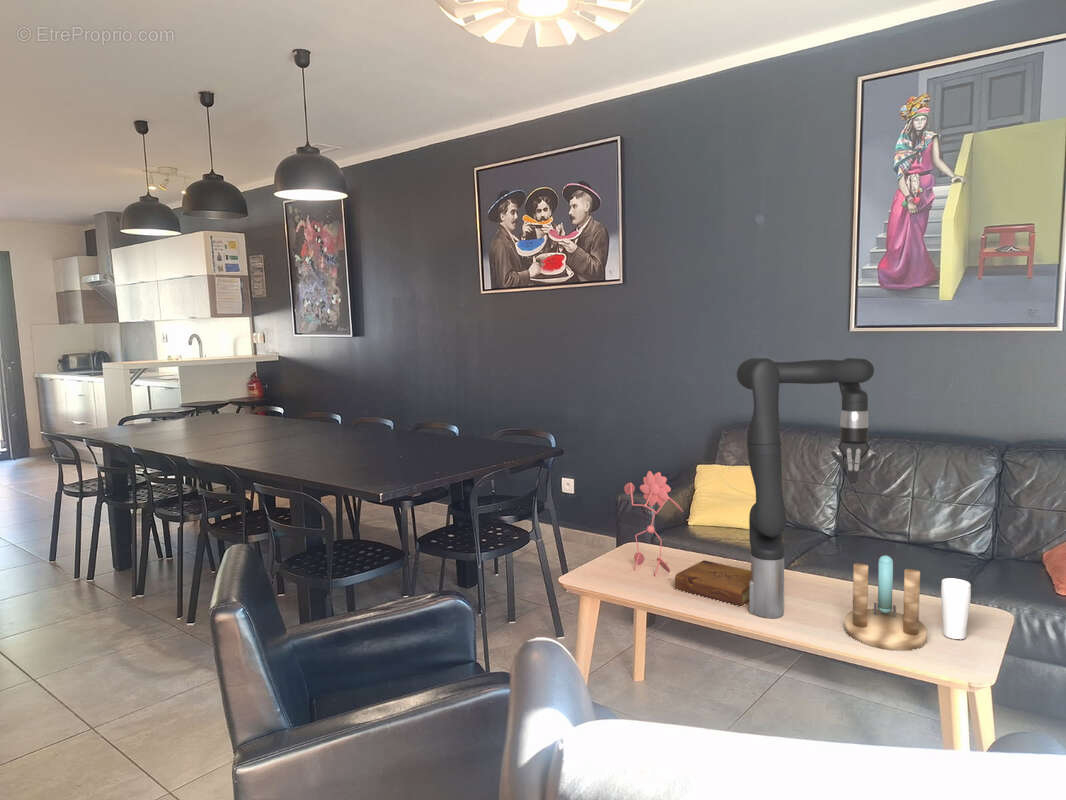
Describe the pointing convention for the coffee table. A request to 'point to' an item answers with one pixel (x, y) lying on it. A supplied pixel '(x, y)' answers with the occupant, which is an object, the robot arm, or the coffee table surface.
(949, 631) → the drinking glass
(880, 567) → the teal capsule cylinder
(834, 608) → the coffee table surface
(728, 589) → the diary
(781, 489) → the robot arm
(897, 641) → the stool
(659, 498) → the figurine
